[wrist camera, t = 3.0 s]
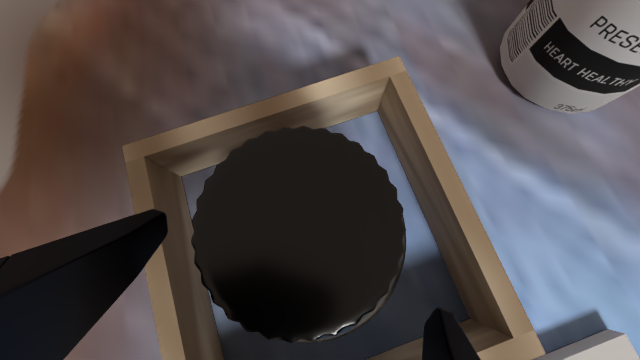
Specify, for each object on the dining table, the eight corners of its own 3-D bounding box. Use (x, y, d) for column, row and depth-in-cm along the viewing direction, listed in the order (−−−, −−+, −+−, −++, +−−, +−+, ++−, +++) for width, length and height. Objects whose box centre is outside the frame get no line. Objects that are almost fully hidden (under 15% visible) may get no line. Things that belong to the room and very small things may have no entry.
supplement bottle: (244, 281, 17) (78, 335, 6) (280, 176, 19) (206, 53, 7) (354, 317, 17) (417, 458, 5) (382, 205, 18) (477, 121, 7)
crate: (222, 437, 15) (188, 498, 12) (163, 167, 19) (122, 145, 15) (494, 330, 16) (546, 354, 13) (385, 94, 20) (399, 56, 16)
